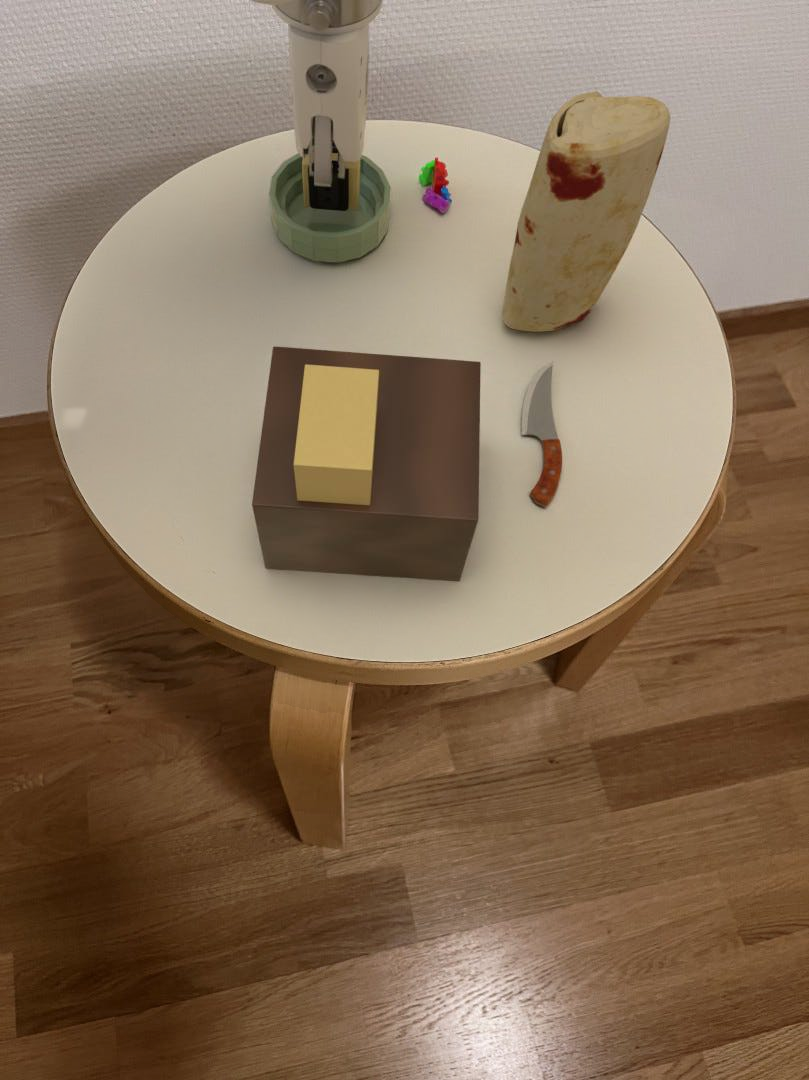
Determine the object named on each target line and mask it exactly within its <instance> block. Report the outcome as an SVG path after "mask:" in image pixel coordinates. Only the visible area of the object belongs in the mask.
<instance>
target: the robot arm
mask: <svg viewBox="0 0 809 1080" xmlns="http://www.w3.org/2000/svg"><path fill="white" fill-rule="evenodd" d="M250 1H251V2H254V3H257V4H262V5H263V4H264V5H269V6H271V7H272V10H273V11H274V13H275V14H276V16H278V17H279V18H280V19H281V21H283V22H284V23H286V24H287V28H288V29H287V30H288V31H287V32H288V33H287V34H288V53H289V54H288V58H289V69H290V70H289V72H290V88H291V105H292V118H293V131H294V140H295V148H296V152H297V153H299V154H300V155H301V156H302V157H303V158H305V155H308V152H309V166H308V184H309V203H310V207H311V208H313V209H324V210H337V211H346V210H348V206H349V169H345V162H357V161H358V160H359V159H360V158H361V156H362V155H363V152H364V144H365V134H366V124H367V115H368V114H367V112H368V101H369V84H370V79H369V78H370V76H369V69H370V68H369V59H370V58H369V54H370V53H369V52H370V46H369V45H370V23H372V22H373V21H374V20H375V19H376V18H377V16H378V15H379V14H380V12H381V9H382V8H383V1H384V0H250ZM332 153H338V162H337V161H335V160H332Z"/></svg>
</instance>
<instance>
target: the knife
mask: <svg viewBox="0 0 809 1080" xmlns="http://www.w3.org/2000/svg"><path fill="white" fill-rule="evenodd" d="M553 367H554V361H553V360H552V361H550V362H548V363H547V364H545V365H544V366H543V367H542V368H541V369H540V370H538V372H536V374H535V375H534V376H533V378H532V380H531V381H530V383H529V385H528V387H527V389H526V392H525V396H524V399H523V403H522V404H523V405H522V411H521V412H522V413H521V435H522V436H534V437H536V438H538V439H539V441H540V443H541V446H542V452H543V453H542V454H543V466H542V471H541V475H540V477H539V479H538V481H537V482H536V484H535V485H534V487H533V488H532V489H531V490H530V492H529V493H530V494H529V496H530V499H531V500H532V501H533V502H534V503H535V504H537V505H538V506H539V507H542V508H547V506H549V505H550V503H551V502H552V501H553V498H554V496H555V494H556V491H557V489H558V486H559V483H560V479H561V475H562V469H563V452H562V445H561V441H560V438H559V436H558V432H557V428H556V425H555V419H554V413H553V407H552V375H553Z"/></svg>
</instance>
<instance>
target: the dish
mask: <svg viewBox="0 0 809 1080" xmlns="http://www.w3.org/2000/svg"><path fill="white" fill-rule="evenodd" d="M302 160H303V157H302V156H301V155H300V154H299V153H298V152H297V153H296V154H294V155H292V156H291V157H289V158H287V159H286V160H283V161H282V162H281V164H280V165H279V167H278V168H277V169H276V171H275V172H274V173H273V175H272V176H271V179H270V185H269V192H268V199H269V209H270V219H271V220H270V221H271V224H272V226H273V229H274V232H275V234H276V236H277V239H279V240H280V241H281V242H282V243H283V244H284V245H285V246H286V247H287V248H288V249H289V250H290V251H291V252H293V253H295V254H296V255H299V256H302V257H304V258H306V259H309V260H311V261H314V262H325V263H342V262H347V261H350V260H356V259H359V258H362V257H363V256H364V255H367V253H369V252H370V251H372V250H373V249H376V248H377V247H378V246H379V245H380V243H381V242H382V240H383V239H384V237H385V236H386V234H387V233H388V230H389V219H390V202H391V185H390V183H389V181H388V179H387V176H386V175H385V172H384V170H383V169H382V168H381V167H379V165H377V164H376V163H375V162H374V161H373V160H371V158H370V157H368V156H366V155H363V154H362V156H361V158H360V193H359V204H358V211H351V210H346V211H337V210H324V209H313V208H311V207H305V206H304V193H303V174H302Z"/></svg>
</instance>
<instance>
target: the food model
mask: <svg viewBox="0 0 809 1080" xmlns="http://www.w3.org/2000/svg"><path fill="white" fill-rule="evenodd" d="M670 124H671V115H670V110H669V108H668V106H667V105H666V104H665V103H664V102H662V101H661V100H659V99H656V98H653V97H650V96H644V95H643V96H641V95H636V96H624V97H623V96H622V97H621V96H603V95H602V94H601V93H600V92H599V91H598V90H594V91H590V92H586V93H582V94H577V95H575V96H573V97H572V98H570V99H569V100H568V101H566V102H565V103H564V104H563V105H562V106H561V107H560V108H559V109H558V110H557V111H556V113H555V114H554V115H553V116H552V118H551V120H550V122H549V125H548V128H547V130H546V133H545V136H544V139H543V142H542V145H541V148H540V150H539V154H538V157H537V160H536V163H535V167H534V170H533V173H532V177H531V180H530V184H529V187H528V191H527V193H526V196H525V199H524V201H523V205H522V207H521V211H520V214H519V216H518V217H519V218H518V220H517V225H516V231H515V238H514V243H513V248H512V252H511V257H510V263H509V269H508V275H507V281H506V286H505V287H506V288H505V293H504V298H503V303H502V310H501V316H502V320H503V322H504V324H505V325H506V326H507V327H509V328H511V329H513V330H517V331H524V332H549V331H550V332H552V331H556V330H561V329H563V328H567V327H570V326H573V325H575V324H578V323H580V322H582V321H583V320H584V319H585V318H587V316H588V315H589V314H590V313H591V311H592V309H593V308H594V306H595V305H596V303H597V302H598V300H599V299H600V297H601V296H602V294H603V292H604V291H605V289H606V288H607V286H608V283H609V282H610V280H611V278H612V276H613V275H614V274H615V271H616V269H617V268H618V266H619V264H620V263H621V261H622V259H623V257H624V255H625V253H626V251H627V249H628V248H629V245H630V243H631V241H632V238H633V236H634V234H635V232H636V230H637V228H638V225H639V222H640V219H641V217H642V215H643V212H644V209H645V206H646V205H647V201H648V199H649V196H650V193H651V189H652V187H653V183H654V180H655V178H656V175H657V171H658V169H659V165H660V162H661V159H662V155H663V153H664V149H665V145H666V141H667V138H668V132H669V129H670Z"/></svg>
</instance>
